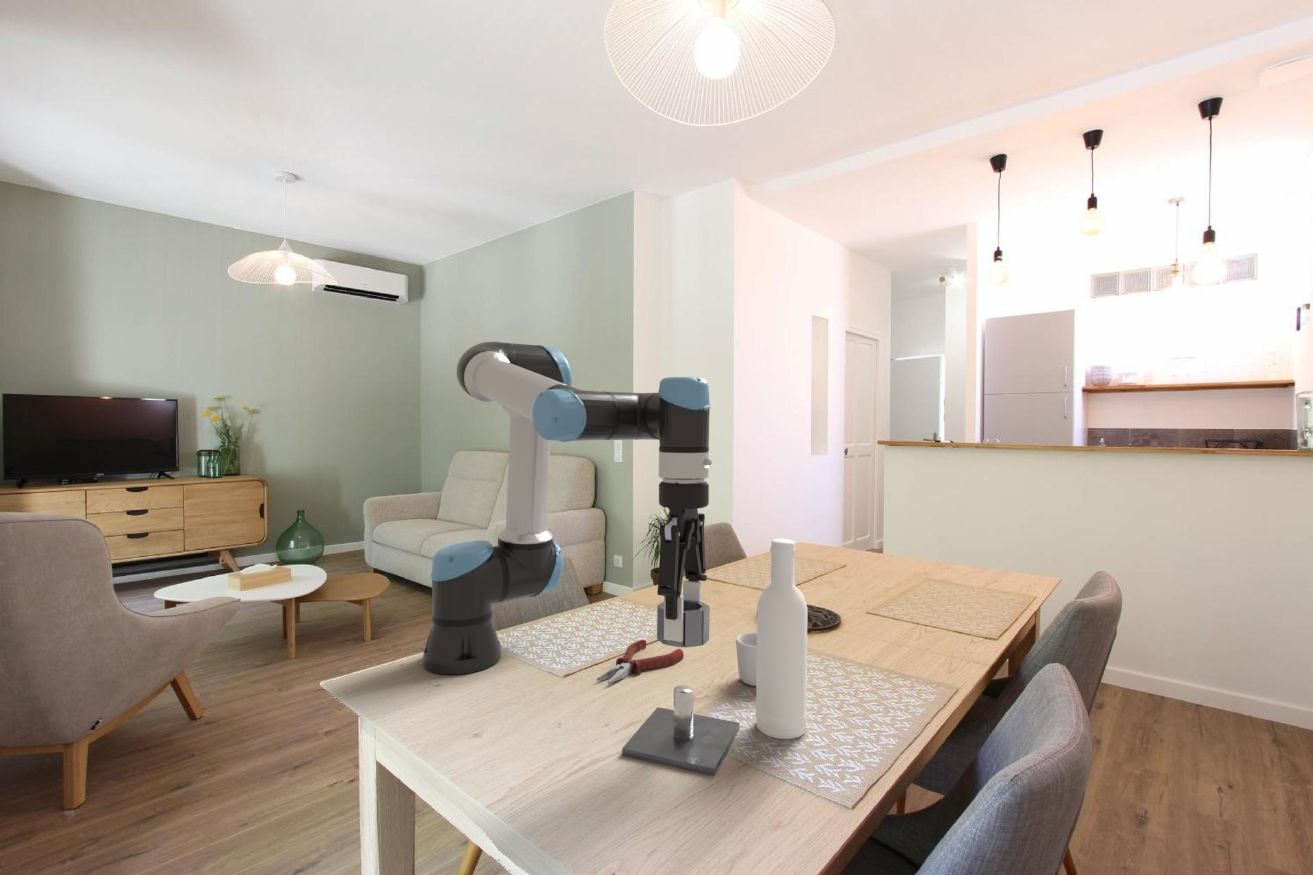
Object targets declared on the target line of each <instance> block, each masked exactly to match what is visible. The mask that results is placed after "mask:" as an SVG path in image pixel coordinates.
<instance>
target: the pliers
mask: <svg viewBox="0 0 1313 875" xmlns="http://www.w3.org/2000/svg"><path fill="white" fill-rule="evenodd" d="M646 648H647V640H646V639H639V640H637V641H635V642H633V643H631V644H629V646H628V647H627V649H626V650H625V653H624V656H623V657H618V658H617V659H616V660H615V665H614V666H613V667H611V668H609V669H608V670H607V671H605V672H604V673H602V674H601V675H600V676H599V677H597V678H596V681H597V682H598V681H603V680H607V679H609V680H608V682H607V683H608V684H611V683H614V682H617V681H619V680H623V679H625V678H626V677H628V675H630V674H636V676H640V675H641V673H642V672H645V671H650V670H657V669H663V668H666V667H670V666H674V665H676V664H677V663H679V662H681V661H682V660H684V655H685V654H684V651H683V650H682V649H681V648H677V649H675V650H673V651H672V652H670V653H666V654H663V655H656V656H652V657H647V658H646V657H645V658H641V659H633V656H635V654H636V653H638V652H641V651H643V650H645V649H646Z"/></svg>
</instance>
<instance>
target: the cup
mask: <svg viewBox="0 0 1313 875" xmlns="http://www.w3.org/2000/svg"><path fill="white" fill-rule="evenodd" d="M735 645H736V646H735V647H736V655H737V656H736V657H737V667H738V676H739V678H740V681H741V682H742V683H745V684H746V685H749V686H752V687H757V632H744V633H741V634H739V635H737V636H736V638H735Z"/></svg>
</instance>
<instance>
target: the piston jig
mask: <svg viewBox="0 0 1313 875" xmlns="http://www.w3.org/2000/svg"><path fill="white" fill-rule="evenodd" d="M694 691H695V690H694V688H693V687H691V686H689V685H686V684H685V685H683V684H681V685H677V686H675V687H674V688H673V709H670V708H664V707H658V706H657V707H656V709H654V711H653V712H652V713H651V714H650V715H649V716H648V717H647V719H646V720H645V721H644V722H643V723H642V725H641V726H640V727H639V728H638V729H637V730H636V731H635V733H634V734H633V735H632V736H631V737H630V738H629V740H627V742H626V743H625V744H624V745H623V747H622V748H621V754H622V756H626V757H630V758H635V759H639V760H643V761H647V762H650V763H651V762H652V763H656V764H660V765H665V766H669V767H674V768H679V769H683V770H687V771H692V772H696V773H700V774H705V775H709V776H713V777H714V776H716V774H717V772H718V770H719V768H720V766H721V764H722V763H723V761H724V759H725V757H726V755H727V753H728V751H729V749H730V748H731V745H732V744H733V742H734V740H735V738H736V736H737V735H738V732H739V731H740V727H741V725H740V722H737V721H733V720H728V719H727V720H726V719H723V718H722V719H721V718H717V717H716V718H715V717H711V716H706V715H700V714H695V713H694V693H695V692H694Z"/></svg>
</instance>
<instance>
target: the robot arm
mask: <svg viewBox="0 0 1313 875" xmlns="http://www.w3.org/2000/svg"><path fill="white" fill-rule="evenodd" d="M456 377H457V382H458V383H459V386H460V388H462V390H463V391H464V392H465V393H466V394H467V395H468V396H470V397H472V398H474V399H476V400H479V401H481V402H489V403H490V402H494V403H496V404H498V405H501V406H502V408H503V410H504V411H505V413H507V414H508V416H509V437H508V438H509V439H508V441H509V442H508V463H507V486H506V487H507V489H506V513H505V527H504V529H503V530H501V531H500V532H499V533H498V535H497V545H495V546H493V545H492V543H491V542H490V541H487V540H473V541H470V540H469V541H468V540H467V541H462V542H459V543H458V542H457V543H453V544H450V545H447V546H445V547H443V548H441V549H440V550H438V551H437V552H435V555H434V556H433V558H432V567H431V568H432V570H431V574H430V579H431V595H432V596H431V609H432V610H431V616H432V618H431V620H432V621H431V628H430V632H429V634H428V637H427V640H426V643H425V644H426V645H425V647H424V650H423V653H422V667H423V668H424V669H425V670H427V671H429V672H430V673H431V672H432V673H435V674H441V675H463V674H470V673H475V672H479V671H482V670H485V669H487V668H489V667H492V666H494V665H495V664H497V663H498V662H499V661H500V660H501V658H502V645H501V643H500V642H501V641H500V640H499V637H498V634H497V631H496V627H495V625H494V621H493V605H495V604H499V603H504V602H509V601H514V600H520V599H526V598H534V597H538V596H539V595H543V594H547V593H550V592H551V591H552V590H553V589H554V588H556V586H557V585H558V583H559V582H560V579H561V576H562V572H563V566H564V562H563V561H564V557H563V555H562V554H561V553H562V549H561V547H560V545H559V544H558V543H557V541H556V540H554V535H553V533H551V531H550V530H549V529H548V527H547V522H548V521H547V520H548V501H549V498H548V497H549V496H548V495H549V481H550V480H549V478H550V477H549V476H550V456H551V441H558V442H561V443H565V442H567V443H568V442H574V441H578V442H579V441H609V440H610V441H613V440H615V441H616V440H617V441H619V440H620V441H623V440H625V441H628V440H629V441H630V440H631V441H632V440H634V441H637V440H645V441H646V440H651V441H653V440H658V441H659V447H658V478H660V479H662V481H660V483H658V504H659V506H661V507H662V508H667V509H668V510H669V512H668V518H667V521H666V522H667V523H666V524H660V526H659V537H660V546H659V547H660V548H659V563H658V580H657V595H658V596H663V602H664V640H671V641H678V642H682V641H683V600H693V601H700V602H702V582H706V581H707V578H708V577H707V574H706V572H707V569H706V568H707V567H706V549H705V547H706V545H705V544H706V542H705V519H706V516H705V515H706V514H705V513H702V512H701V513H699V510H698V509H704V508H706V507H708V506H709V502H710V484H709V483H708V481H705V480H706V479H708V478H709V473H710V471H709V466H711V465H712V464H713V460H712V458H709V456H710V455H709V454H710V453H709V452H710V446H709V445H710V413H711V412H710V409H711V402H710V390H709V387H710V386H709V383H708V381H707V380H706V379H704V378H703V377H695V376H669V377H664V378H662V379H661V380H660V381H659V389H658V391H657V392H625V391H620V392H619V391H598V390H597V391H595V390H584V389H579V388H576V387H574V386H572V383H573V382H572V381H573V378H572V377H573V376H572V371H571V367H570V364H569V362H568V359H567V358H566V356H565V354H563V353H562V351H560V350H559V349H558V348H555V347H551V346H550V347H549V346H544V345H540V344H538V345H537V344H536V345H535V344H523V343H513V342H511V343H510V342H501V341H484V342H480V343H477V344H475V345H473V346H471V347H469V348H468V349H467V350H465V352H464V353H463V354H462V355H461V357H460V358H459V359H458V362H457V367H456ZM684 576H685V580H683V579H684Z"/></svg>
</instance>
